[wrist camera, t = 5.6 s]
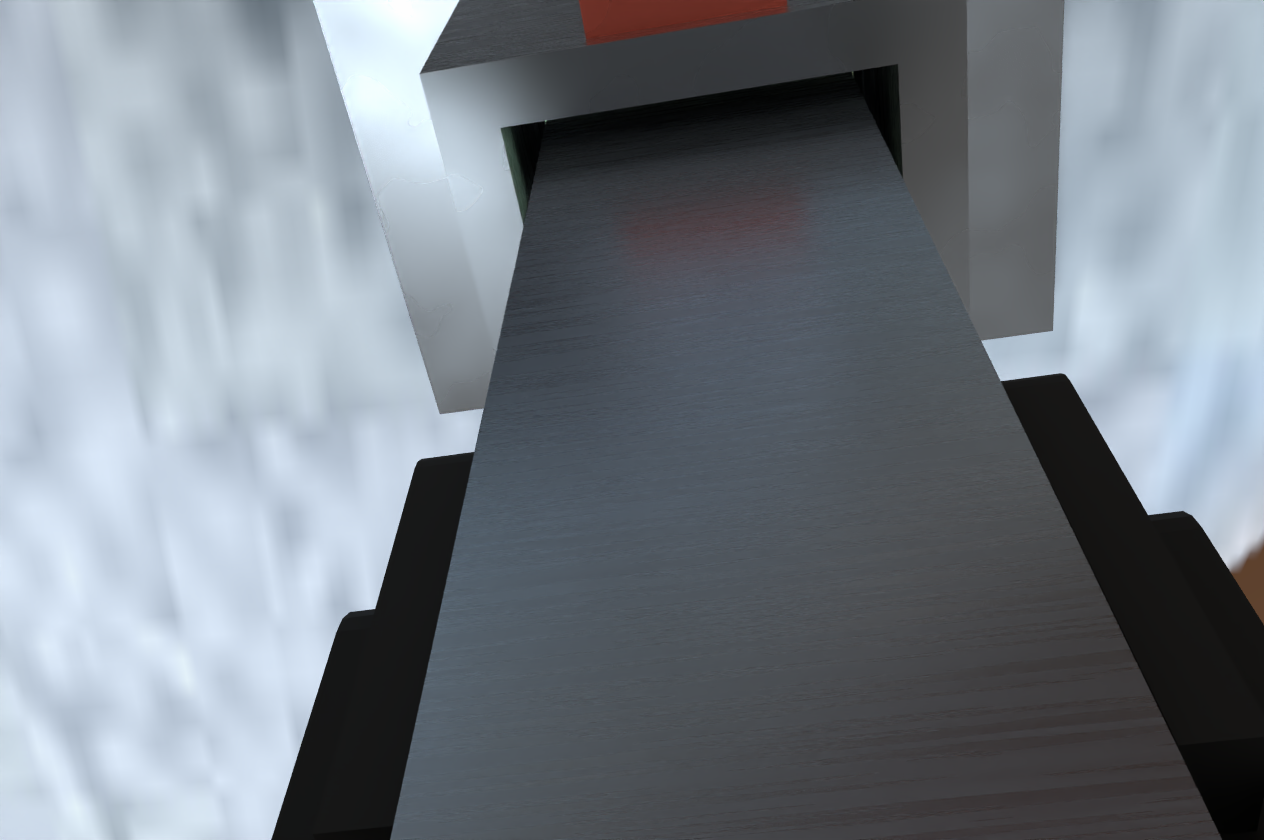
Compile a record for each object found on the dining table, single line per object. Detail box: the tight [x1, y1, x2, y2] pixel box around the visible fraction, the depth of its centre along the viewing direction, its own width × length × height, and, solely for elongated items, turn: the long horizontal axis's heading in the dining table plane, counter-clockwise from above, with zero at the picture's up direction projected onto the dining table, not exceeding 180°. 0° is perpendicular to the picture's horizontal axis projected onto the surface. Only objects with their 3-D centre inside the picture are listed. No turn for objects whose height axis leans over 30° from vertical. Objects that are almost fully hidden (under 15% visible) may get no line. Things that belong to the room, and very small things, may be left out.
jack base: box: [313, 0, 1064, 414], centre depth 20 cm, size 14×14×10 cm
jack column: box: [390, 71, 1222, 840], centre depth 11 cm, size 4×4×22 cm
